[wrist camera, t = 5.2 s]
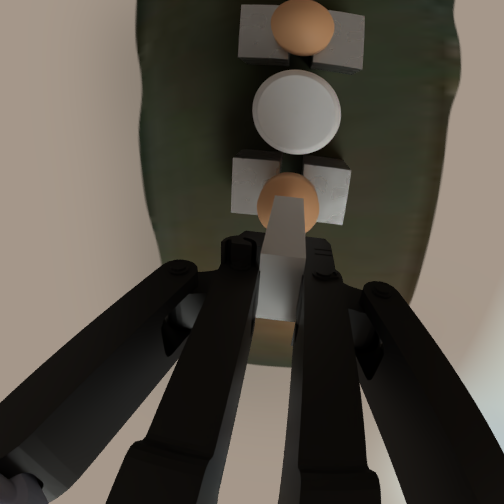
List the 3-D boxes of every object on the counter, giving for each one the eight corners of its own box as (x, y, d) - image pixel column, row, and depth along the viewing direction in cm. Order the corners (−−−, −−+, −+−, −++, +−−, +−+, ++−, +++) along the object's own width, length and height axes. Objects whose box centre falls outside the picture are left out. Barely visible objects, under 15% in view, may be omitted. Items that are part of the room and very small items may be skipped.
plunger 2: (267, 159, 21) (258, 175, 17) (317, 164, 21) (323, 182, 16) (263, 206, 23) (255, 233, 18) (311, 211, 22) (314, 240, 18)
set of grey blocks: (250, 19, 18) (241, 4, 15) (354, 29, 17) (364, 16, 14) (240, 195, 25) (231, 212, 22) (336, 206, 25) (342, 224, 21)
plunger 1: (277, 17, 17) (272, -4, 13) (327, 22, 17) (335, 2, 12) (275, 61, 19) (269, 49, 14) (325, 65, 18) (333, 55, 14)
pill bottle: (330, 143, 22) (348, 166, 15) (264, 143, 23) (246, 165, 15) (330, 78, 20) (348, 65, 12) (261, 78, 21) (241, 64, 13)
